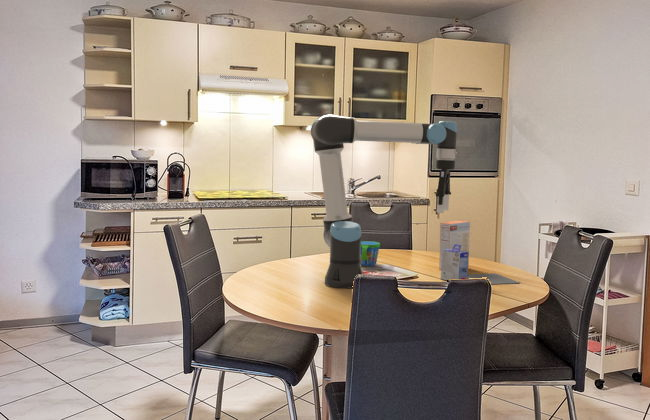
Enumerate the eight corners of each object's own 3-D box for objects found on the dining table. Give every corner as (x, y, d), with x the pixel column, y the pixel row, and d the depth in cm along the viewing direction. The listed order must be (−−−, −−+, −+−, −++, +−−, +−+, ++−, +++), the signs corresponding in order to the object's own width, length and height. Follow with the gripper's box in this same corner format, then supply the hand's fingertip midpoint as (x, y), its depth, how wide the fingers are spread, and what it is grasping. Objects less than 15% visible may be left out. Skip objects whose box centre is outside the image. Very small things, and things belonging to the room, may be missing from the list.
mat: (474, 285, 229) (474, 284, 229) (452, 275, 246) (452, 274, 246) (519, 283, 234) (520, 282, 234) (495, 273, 251) (495, 273, 251)
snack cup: (362, 261, 274) (363, 239, 273) (384, 263, 270) (385, 241, 269) (350, 267, 260) (351, 244, 259) (373, 269, 256) (373, 246, 255)
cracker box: (457, 266, 267) (459, 219, 265) (468, 268, 263) (471, 221, 261) (437, 269, 258) (439, 222, 256) (449, 271, 254) (451, 223, 252)
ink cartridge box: (468, 282, 234) (469, 246, 233) (458, 284, 231) (460, 247, 230) (449, 277, 242) (450, 242, 241) (440, 279, 239) (441, 243, 238)
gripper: (451, 160, 228) (447, 214, 230) (458, 159, 252) (455, 209, 254) (431, 159, 231) (428, 213, 233) (440, 159, 254) (438, 208, 256)
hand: (442, 211), depth 243 cm, fingers open, 13 cm apart
